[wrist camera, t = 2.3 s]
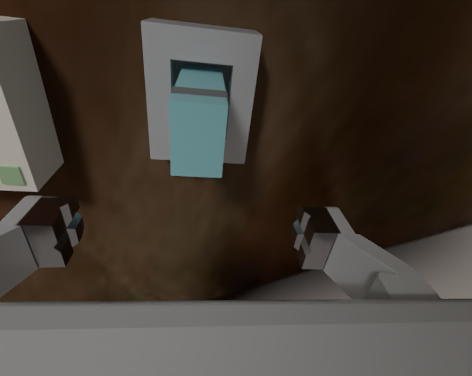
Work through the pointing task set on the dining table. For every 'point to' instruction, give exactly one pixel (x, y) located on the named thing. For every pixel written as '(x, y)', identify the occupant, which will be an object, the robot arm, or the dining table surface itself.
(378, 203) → the dining table surface
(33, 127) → the port block
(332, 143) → the dining table surface
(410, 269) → the robot arm
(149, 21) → the holster
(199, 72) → the plug
